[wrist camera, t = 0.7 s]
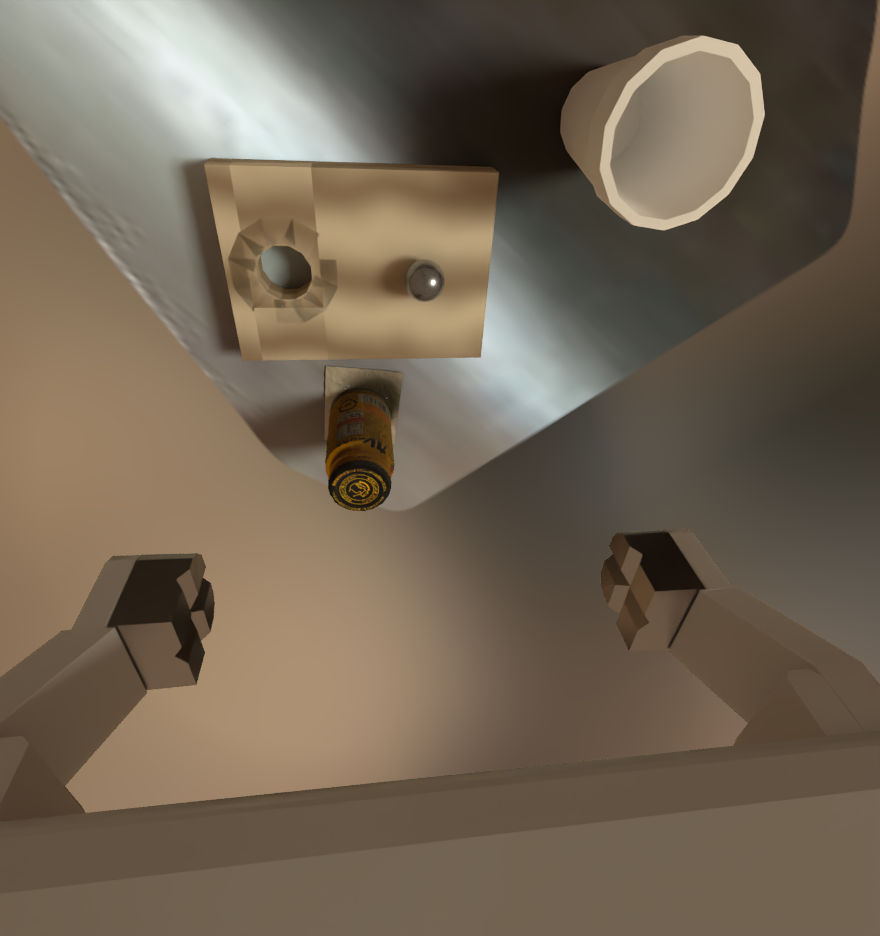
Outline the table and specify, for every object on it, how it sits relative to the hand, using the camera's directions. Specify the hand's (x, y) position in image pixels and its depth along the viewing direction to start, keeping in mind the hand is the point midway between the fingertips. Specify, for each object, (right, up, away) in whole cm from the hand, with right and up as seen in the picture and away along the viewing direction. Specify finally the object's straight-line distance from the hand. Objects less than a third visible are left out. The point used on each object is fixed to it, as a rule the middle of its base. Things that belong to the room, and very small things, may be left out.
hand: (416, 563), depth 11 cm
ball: (-1, +17, +32) cm, 36 cm away
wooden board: (-6, +19, +34) cm, 40 cm away
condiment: (-7, +8, +43) cm, 45 cm away
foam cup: (+13, +29, +30) cm, 43 cm away
